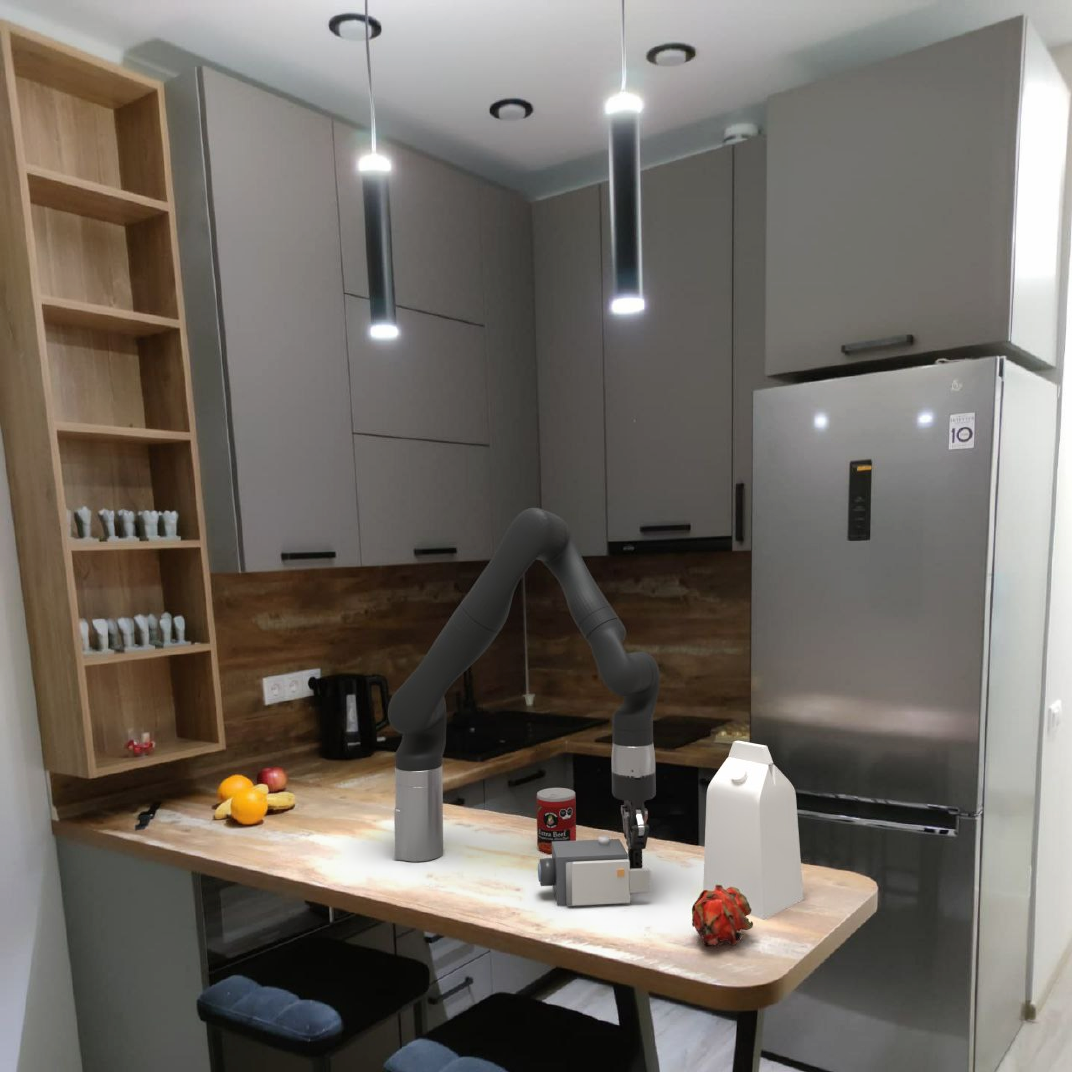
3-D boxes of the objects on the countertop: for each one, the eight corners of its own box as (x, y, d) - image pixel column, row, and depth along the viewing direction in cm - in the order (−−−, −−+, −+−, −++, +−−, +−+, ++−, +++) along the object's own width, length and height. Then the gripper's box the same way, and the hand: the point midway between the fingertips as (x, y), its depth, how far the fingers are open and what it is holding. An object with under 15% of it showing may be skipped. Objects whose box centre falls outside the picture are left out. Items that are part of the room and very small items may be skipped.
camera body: (541, 906, 145) (540, 852, 145) (536, 888, 153) (536, 836, 153) (628, 902, 146) (627, 848, 146) (619, 884, 154) (619, 833, 154)
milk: (803, 900, 146) (800, 744, 147) (763, 919, 139) (760, 755, 139) (743, 880, 155) (741, 733, 156) (702, 897, 148) (700, 743, 148)
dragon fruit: (744, 936, 136) (711, 978, 127) (701, 896, 140) (666, 933, 130) (772, 902, 132) (739, 942, 123) (727, 861, 136) (692, 897, 127)
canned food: (532, 853, 171) (531, 796, 171) (544, 840, 178) (543, 786, 178) (569, 857, 168) (568, 799, 168) (580, 843, 176) (580, 788, 176)
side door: (566, 906, 144) (566, 864, 144) (565, 903, 145) (565, 861, 145) (650, 902, 145) (650, 860, 145) (648, 899, 146) (648, 858, 146)
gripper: (605, 760, 157) (607, 857, 157) (618, 779, 144) (621, 885, 144) (646, 759, 158) (648, 855, 158) (663, 777, 145) (665, 882, 145)
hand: (635, 869), depth 151 cm, fingers closed
